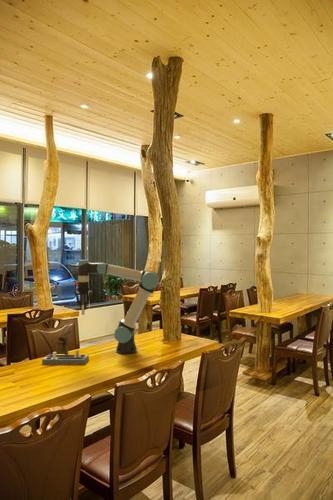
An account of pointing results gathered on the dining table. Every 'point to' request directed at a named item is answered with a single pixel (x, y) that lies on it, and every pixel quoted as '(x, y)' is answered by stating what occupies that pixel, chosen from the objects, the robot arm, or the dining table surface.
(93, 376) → the dining table surface
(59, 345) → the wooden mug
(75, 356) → the tab ochre
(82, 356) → the switch bank
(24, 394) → the dining table surface
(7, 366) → the dining table surface
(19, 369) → the dining table surface
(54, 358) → the tab ivory
